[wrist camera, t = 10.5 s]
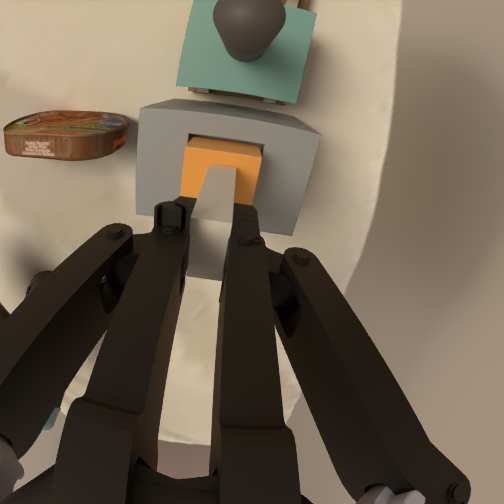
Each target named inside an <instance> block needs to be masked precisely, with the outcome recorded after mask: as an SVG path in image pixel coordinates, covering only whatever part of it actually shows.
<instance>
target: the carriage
mask: <svg viewBox="0 0 504 504" xmlns="http://www.w3.org/2000/svg"><path fill="white" fill-rule="evenodd" d="M316 16H317V13H314V12H310V11H307V10H303V9H299V8H295V7H291V6H287V5H283V3H282V2H281V0H194V1H193V5H192V9H191V13H190V17H189V21H188V26H187V30H186V34H185V39H184V44H183V49H182V54H181V59H180V65H179V70H178V76H177V82H176V86H183V87H196V88H206V89H215V90H223V91H230V92H237V93H243V94H249V95H255V96H260V97H265V98H270V99H275V100H280V101H284V102H289V103H293V104H296V101H297V97H298V93H299V89H300V85H301V80H302V76H303V72H304V68H305V63H306V59H307V55H308V51H309V46H310V42H311V38H312V33H313V29H314V25H315V20H316Z"/></svg>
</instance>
